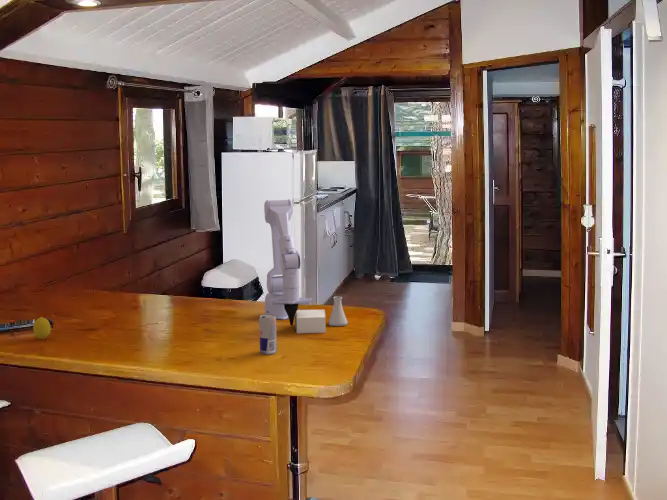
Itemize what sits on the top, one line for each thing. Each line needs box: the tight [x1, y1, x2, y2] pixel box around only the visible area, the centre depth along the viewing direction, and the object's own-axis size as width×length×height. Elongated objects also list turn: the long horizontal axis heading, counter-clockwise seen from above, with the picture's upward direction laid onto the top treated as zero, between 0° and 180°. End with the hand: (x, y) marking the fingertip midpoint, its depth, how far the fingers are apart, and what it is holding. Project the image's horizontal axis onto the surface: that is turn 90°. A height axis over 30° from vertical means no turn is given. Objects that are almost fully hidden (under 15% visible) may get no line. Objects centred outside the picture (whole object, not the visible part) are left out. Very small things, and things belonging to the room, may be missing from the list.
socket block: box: [294, 309, 327, 334], centre depth 267 cm, size 10×11×6 cm
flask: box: [327, 295, 349, 327], centre depth 272 cm, size 7×7×10 cm
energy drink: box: [258, 313, 278, 356], centre depth 239 cm, size 5×5×12 cm
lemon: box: [32, 316, 51, 340], centre depth 257 cm, size 6×6×8 cm
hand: (291, 324), depth 266 cm, fingers closed
